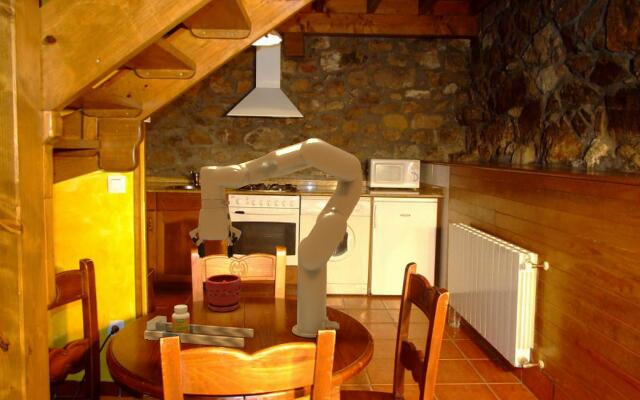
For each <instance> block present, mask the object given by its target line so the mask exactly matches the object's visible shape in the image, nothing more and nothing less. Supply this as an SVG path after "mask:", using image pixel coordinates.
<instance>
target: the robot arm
mask: <svg viewBox="0 0 640 400" xmlns="http://www.w3.org/2000/svg"><path fill="white" fill-rule="evenodd" d="M312 167H313V168H316V169H317V170H320V171H321V172H324V173H326V174H328V175H330V176H331V177H334V178H336V180H337V181H336V182H337V183H336V187H335V189H334V190H333V192H332V194H331V196H330V198H329V200H328V201H327V202H326V204H325V206H324V207H323V209H321V211H320V213H319V214H318V215H317V217H316V219H315V223H314V225H313V227H312V229H311V230H310V231H309V233H308V235H307V236H305V237H304V238H303V239H302V240H301V241H300V243H299V244H298V247H297V291H296V292H297V295H296V296H297V300H296V301H297V302H296V303H297V305H296V306H297V307H296V308H297V311H296V312H297V313H296V320H297V321H296V323H297V324H295V325H293V327H292V330H291V331H292V333H293V334H294V335H296V336H298V337H301V338H317V337H316V335H317V330H318V329H331V330H332V329H333V330H340V323H339V322H337V321H331V320H329V316H327V294H328V293H327V289H328V288H327V287H328V286H327V284H328V262H329V260H330V259H331V258H332V256H333V254H334V253H335V251H336V250H337V248H338V246H339V245H340V244H341V242H342V240H343V239H344V237H345V235H346V232H347V230H348V220H349V218H350V217H351V215H352V214H353V212H354V210H355V208H356V206H357V205H358V203H359V201H360V199H361V197H362V194H363V189H364V180H363V174H362V172H361V171H362V164H361V162H360V160H359V159H358V157H356V156H355V155H353V154H352V153H349V152H348V151H345V150H344V149H341V148H339V147H337V146H334V145H332V144H330V143H328V142H326V141H325V140H323V139H320V138H319V137H311V138H308V139H306V140H304V141H301V142H298V143H294V144H292V145H289V146H284V147H282V148H277V149H275V150H273V151H270V152H269V153H267V154H264V155H263V156H261V157H258V158H255V159H252V160H248V161H246V162H243V163H239V164H231V165H226V166H225V165H224V166H220V165H213V166H212V165H211V166H210V165H207V166H206V165H205V166H202V167H201V168H200V171H199V173H200V175H199V176H200V194H201V195H200V196H201V197H200V198H201V208H200V210H199V214H198V215H199V216H198V227H196V228H194V229H192V230H191V231H189V232H188V234H189V236H190V238H191V240H192V241H193V243H195V245H196V246H197V255H198V258H199V259H202V258H204V257H206V252H205V251H206V249H205V244H204V243H205V241H225V242H226V243H227V249H226V251H227V258H228V259H231V258H233V257H234V255H235V244H236V243H237V242H238V241H239V239H240V237H241V234H242V230H240V229H237V228H236V227H234V226H232V219H231V214H230V213H231V212H230V209H229V208H228V207H227V206H229V205H230V204H231V203H230V200H228V199H227V198H226V188H227V189H240V188H242V187H245V186H248V185H252V184H255V183H259V182H262V181H265V180H269V179H273V178H279V177H283V176H287V175H290V174H292V173H296V172H298V171H302V170H305V169H309V168H312ZM197 233H198V237H197V236H196V234H197ZM233 234H235V235H234V237H233Z"/></svg>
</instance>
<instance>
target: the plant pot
mask: <svg viewBox="0 0 640 400" xmlns="http://www.w3.org/2000/svg"><path fill="white" fill-rule="evenodd" d="M241 290H242V277H241V276H240V275H237V274H231V273H230V274H229V273H228V274H227V273H224V274H215V275H214V274H213V275H211V276H208V277H207V278H205V292H206V296H207V297H206V298H207V299H208V300H209V301H208V302H209V303H208V308H209V309H210V310H212V311H214V312H224V313H225V312H231V311H234V310H236V309H237V308H239V307H240V301H239V299H240V296H241Z"/></svg>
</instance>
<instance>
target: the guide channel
mask: <svg viewBox="0 0 640 400" xmlns="http://www.w3.org/2000/svg"><path fill="white" fill-rule="evenodd" d="M143 331H144V330H143ZM143 334H144V336H143V337H144V340H146V339H148V340H149V341H158V340H159V338H160V337H167V336H176V335H179V336H180V340H181V342H180V343H184V344H194V345H195V344H196V345H208V346H210V345H211V346H220V347H230V348H231V347H232V348H244V347H245V338H248V339H249V338H251V339H252V338H254V329H253V328H245V327H244V328H243V327H231V326H217V325H205V324H204V325H203V324H194V323H193V324H192V323H191V324H190V334H184V333H172V322H167V316H166V315H156V316H155V317H153V318H152V319H150V320H148V321H146V330H145V331H144V333H143Z"/></svg>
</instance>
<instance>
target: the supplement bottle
mask: <svg viewBox="0 0 640 400" xmlns="http://www.w3.org/2000/svg"><path fill="white" fill-rule="evenodd" d="M173 311H174V313H172V315H171V323H172V331H171V333H184V334H191V333H190V322H191V320H190V319H191V318H190V317H191V316H190V312H188V305H186V304H177V305H174V308H173Z"/></svg>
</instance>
